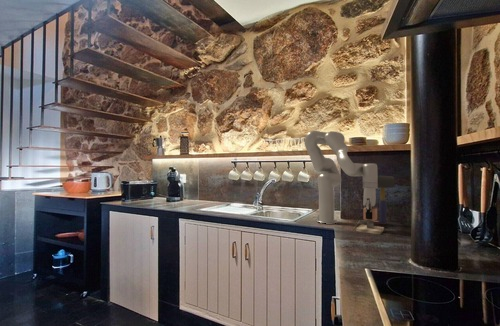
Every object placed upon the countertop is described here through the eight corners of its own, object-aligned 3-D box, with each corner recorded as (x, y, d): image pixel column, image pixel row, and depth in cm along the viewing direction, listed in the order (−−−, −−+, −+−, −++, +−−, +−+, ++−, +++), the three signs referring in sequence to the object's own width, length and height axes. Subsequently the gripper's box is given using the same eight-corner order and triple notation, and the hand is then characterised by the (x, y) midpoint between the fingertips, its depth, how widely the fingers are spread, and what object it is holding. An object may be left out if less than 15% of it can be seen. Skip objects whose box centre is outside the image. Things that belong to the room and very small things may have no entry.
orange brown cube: (363, 219, 143) (363, 208, 143) (365, 217, 148) (365, 207, 148) (375, 220, 140) (375, 209, 140) (377, 219, 145) (377, 208, 145)
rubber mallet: (393, 223, 162) (393, 175, 163) (395, 226, 155) (395, 175, 156) (371, 222, 167) (371, 175, 167) (372, 224, 160) (372, 175, 160)
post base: (356, 231, 143) (356, 219, 143) (361, 227, 152) (361, 215, 152) (380, 234, 136) (380, 221, 136) (383, 230, 145) (383, 218, 145)
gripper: (366, 184, 154) (366, 215, 153) (359, 186, 140) (359, 219, 139) (380, 185, 149) (380, 216, 149) (374, 186, 135) (374, 221, 135)
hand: (370, 217), depth 144 cm, fingers closed on orange brown cube, 6 cm apart
